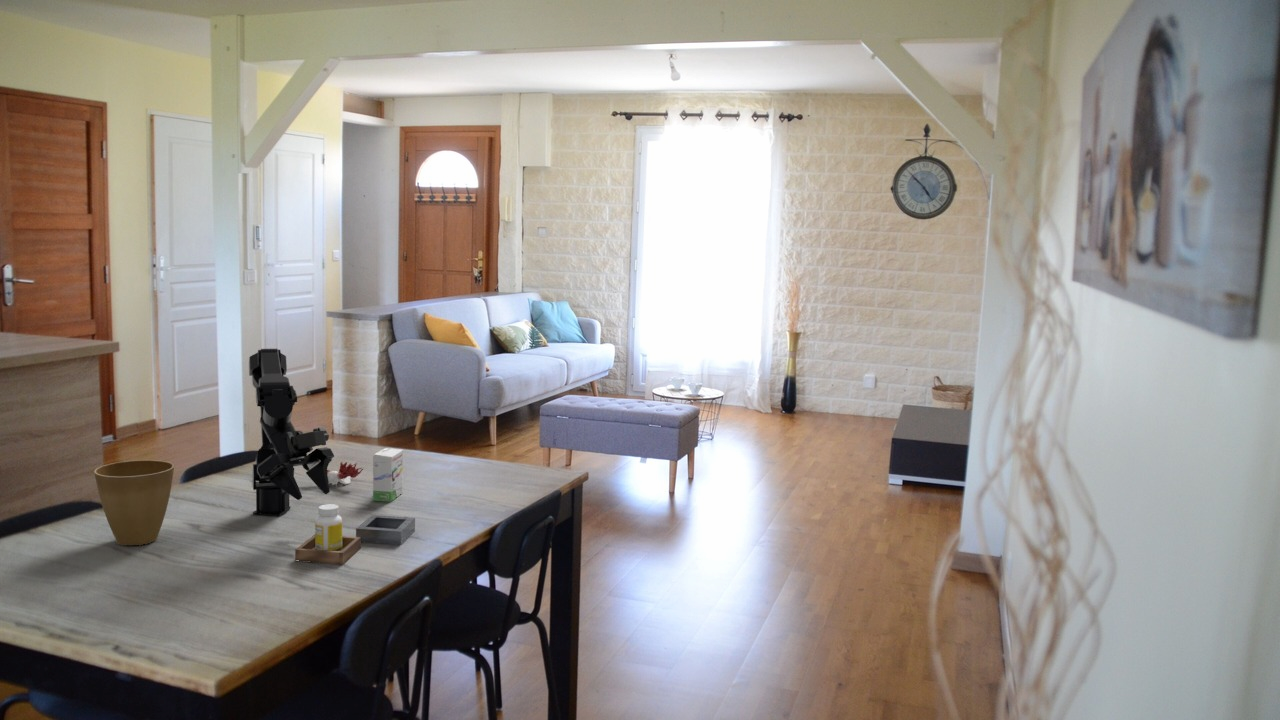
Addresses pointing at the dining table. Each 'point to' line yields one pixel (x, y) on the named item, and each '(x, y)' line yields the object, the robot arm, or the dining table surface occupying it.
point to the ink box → (387, 474)
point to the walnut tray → (325, 556)
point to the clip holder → (386, 529)
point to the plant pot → (135, 498)
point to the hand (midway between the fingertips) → (314, 496)
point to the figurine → (343, 474)
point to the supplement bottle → (328, 528)
